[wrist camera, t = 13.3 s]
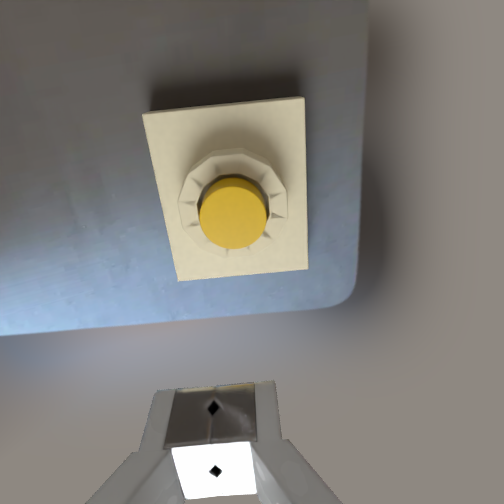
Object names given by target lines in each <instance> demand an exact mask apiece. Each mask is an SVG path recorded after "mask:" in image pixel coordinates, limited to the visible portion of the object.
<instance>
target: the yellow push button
mask: <svg viewBox="0 0 504 504" xmlns="http://www.w3.org/2000/svg"><path fill="white" fill-rule="evenodd" d="M199 221H200V226H201V228H202V231H203V233H204V234H205V235H206V237H207V238H208V239H209V240H210V241H211V242H213V243H214V244H216V245H218V246H220V247H223V248H226V249H241V248H244V247H247V246H249V245H251V244H253V243H254V242H255V241H256V240H258V239H259V237H260V236H261V235H262V233H263V231H264V229H265V226H266V222H267V214H266V208H265V203H264V199H263V196H262V194H261V193H260V191H259V190H258V188H257V187H256V186H255V185H254V184H252V183H251V182H249V181H247V180H245V179H241V178H235V177H231V178H225V179H222V180H219V181H217V182H216V183H214V184H213V185H212V186H211V187H210V188H209V189H208V191H207V192H206V194H205V196H204V199H203V202H202V205H201V208H200V213H199Z"/></svg>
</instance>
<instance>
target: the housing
mask: <svg viewBox="0 0 504 504" xmlns="http://www.w3.org/2000/svg"><path fill="white" fill-rule="evenodd" d="M142 117H143V122H144V126H145V131H146V136H147V140H148V145H149V149H150V154H151V159H152V163H153V168H154V173H155V177H156V182H157V186H158V191H159V196H160V200H161V205H162V209H163V214H164V219H165V223H166V228H167V232H168V237H169V242H170V246H171V251H172V255H173V260H174V265H175V269H176V274H177V278H178V281H186V280H197V279H207V278H218V277H229V276H239V275H250V274H261V273H271V272H282V271H293V270H303V269H308V227H307V181H306V135H305V98H303V97H300V96H296V97H286V98H276V99H266V100H256V101H246V102H236V103H226V104H217V105H207V106H197V107H187V108H177V109H167V110H157V111H149V112H146V113H144V114H142ZM231 177H235V178H241V179H245V180H247V181H249V182H251V183H252V184H254V185H255V186H256V187H257V188H258V190H259V191H260V193H261V194H262V196H263V199H264V203H265V208H266V214H267V222H266V226H265V229H264V231H263V233H262V235H261V236H260V237H259V239H258V240H256V241H255V242H254V243H253V244H251V245H249V246H247V247H244V248H241V249H226V248H223V247H220V246H218V245H216V244H214V243H213V242H211V241H210V240H209V239H208V238H207V237H206V235H205V234H204V233H203V231H202V228H201V226H200V221H199V213H200V208H201V205H202V202H203V199H204V196H205V194H206V192H207V191H208V189H209V188H210V187H211V186H212V185H213V184H214V183H216V182H217V181H219V180H222V179H225V178H231Z"/></svg>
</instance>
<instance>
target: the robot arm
mask: <svg viewBox="0 0 504 504" xmlns="http://www.w3.org/2000/svg"><path fill="white" fill-rule="evenodd" d="M240 494H257V496H258V498H259V500H260V501H261V503H262V504H343V503H342V502H341V501H340V500H339V499H338V497H337V496H336V495H335V494H334V493H333V491H332V490H331V489H330V488H329V487H328V486H327V484H326V483H325V482H324V481H323V480H322V478H321V477H320V476H319V475H318V474H317V472H316V471H315V470H314V469H313V468H312V467H311V466H310V464H309V463H308V462H307V461H306V460H305V459H304V457H303V456H302V455H301V454H300V452H299V451H298V450H297V449H296V448H295V446H294V445H293V444H292V443H291V442H290V441H289V440H288V439H286V440H282V434H281V427H280V418H279V410H278V401H277V392H276V384H275V381H274V380H272V381H261V382H255V383H254V382H249V383H239V384H229V385H220V386H211V387H196V388H178V389H168V390H157V392H156V393H155V395H154V397H153V400H152V404H151V408H150V411H149V415H148V419H147V423H146V426H145V429H144V433H143V437H142V440H141V444H140V448H139V451H138V452H133V453H131V454H130V455H129V456H128V457H127V459H126V460H125V461H124V462H123V463H122V464H121V465H120V466H119V467H118V468H117V470H116V471H115V472H114V473H113V474H112V475H111V476H110V477H109V478H108V479H107V480H106V481H105V483H104V484H103V485H102V486H101V487H100V488H99V489H98V490H97V491H96V492H95V494H94V495H93V496H92V497H91V498H90V499H89V500H88V501H87V502H86V503H85V504H184V503H185V501H184V500H186V499H195V498H203V497H212V496H221V495H240Z"/></svg>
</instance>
